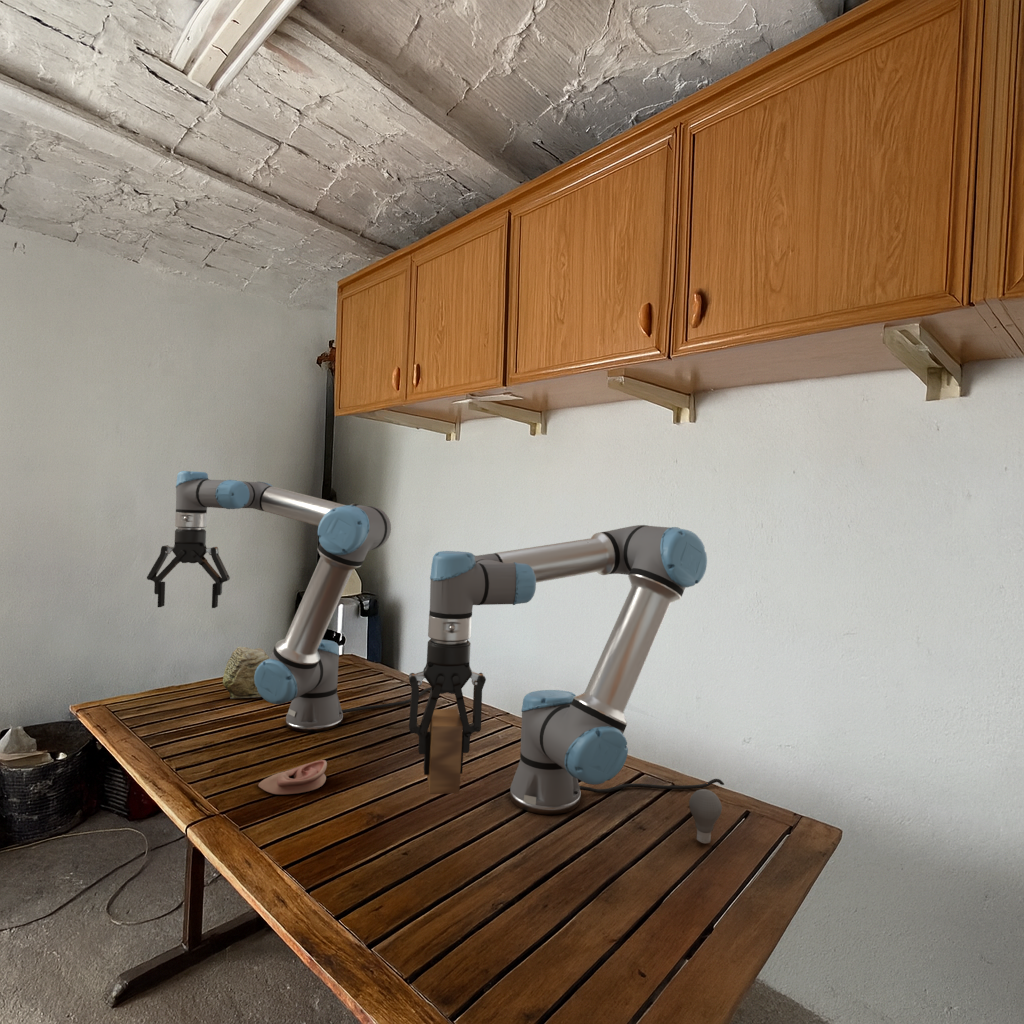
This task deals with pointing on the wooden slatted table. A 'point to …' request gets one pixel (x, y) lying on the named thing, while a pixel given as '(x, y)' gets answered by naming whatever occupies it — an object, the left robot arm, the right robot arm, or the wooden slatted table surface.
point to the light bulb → (705, 812)
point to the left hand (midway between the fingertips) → (188, 607)
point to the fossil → (243, 672)
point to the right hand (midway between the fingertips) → (442, 770)
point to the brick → (445, 752)
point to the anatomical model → (296, 779)
